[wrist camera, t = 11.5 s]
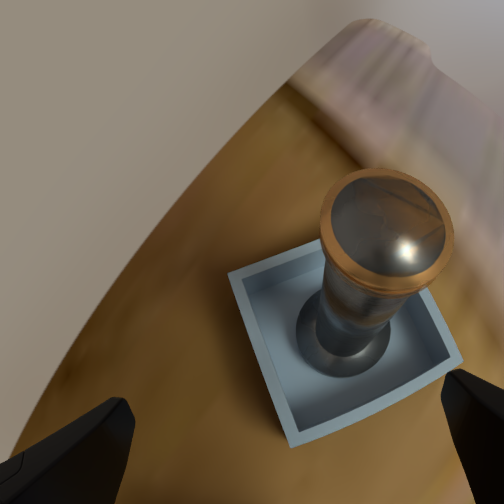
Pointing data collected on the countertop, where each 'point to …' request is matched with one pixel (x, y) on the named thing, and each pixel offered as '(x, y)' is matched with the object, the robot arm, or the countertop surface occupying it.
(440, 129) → the countertop surface
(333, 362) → the pin
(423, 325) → the pin tray
